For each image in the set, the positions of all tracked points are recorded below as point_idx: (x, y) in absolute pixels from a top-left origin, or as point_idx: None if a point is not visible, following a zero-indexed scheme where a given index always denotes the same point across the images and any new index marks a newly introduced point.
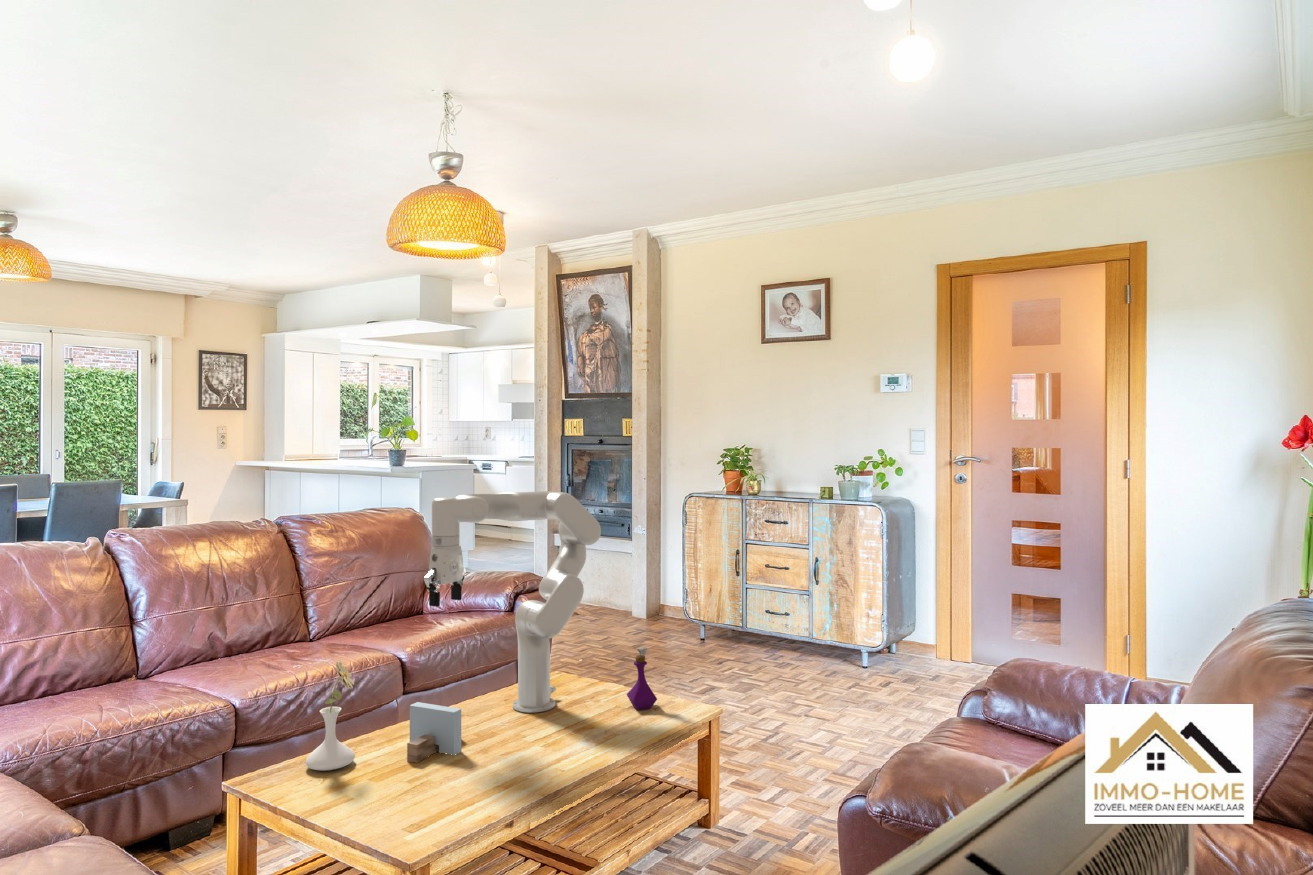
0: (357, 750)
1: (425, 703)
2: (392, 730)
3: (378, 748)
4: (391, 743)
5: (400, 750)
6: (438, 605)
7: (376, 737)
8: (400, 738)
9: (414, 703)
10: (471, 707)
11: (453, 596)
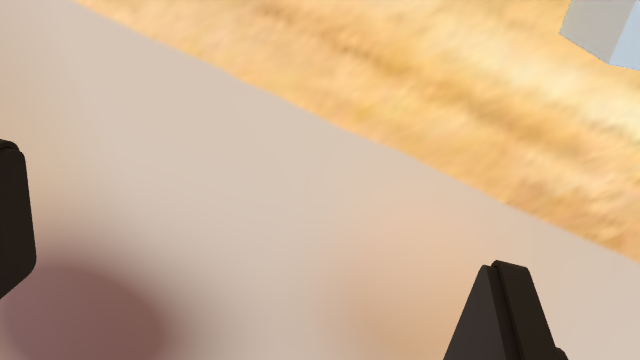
0: (623, 185)
1: (632, 15)
2: (444, 163)
3: (605, 135)
4: (559, 116)
5: None
6: (528, 270)
7: (508, 181)
8: (511, 109)
9: (631, 66)
10: (189, 15)
11: (5, 259)
